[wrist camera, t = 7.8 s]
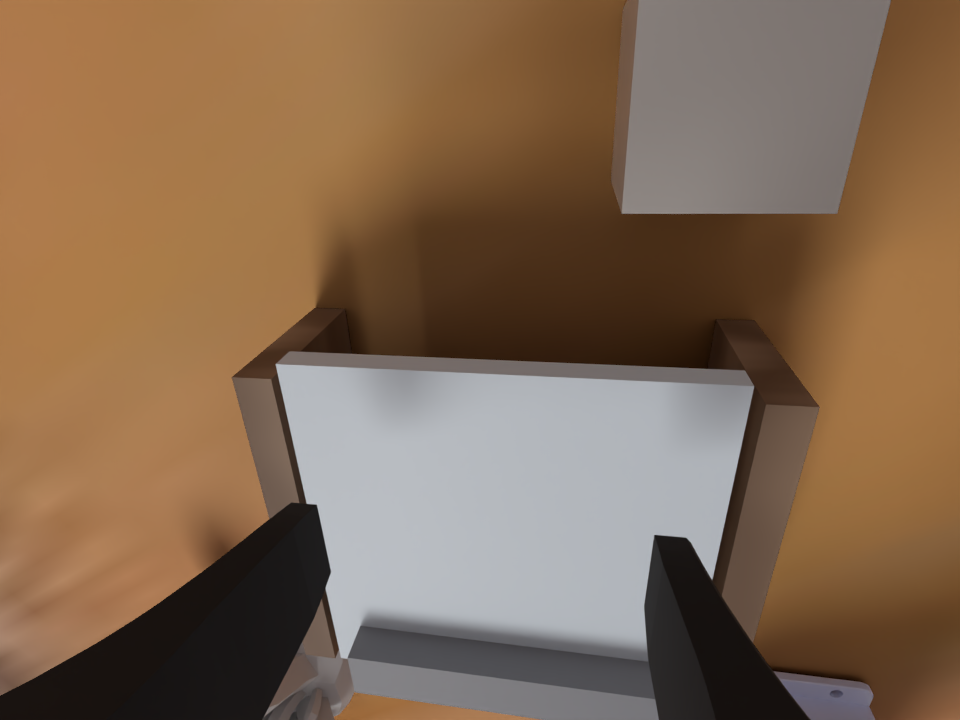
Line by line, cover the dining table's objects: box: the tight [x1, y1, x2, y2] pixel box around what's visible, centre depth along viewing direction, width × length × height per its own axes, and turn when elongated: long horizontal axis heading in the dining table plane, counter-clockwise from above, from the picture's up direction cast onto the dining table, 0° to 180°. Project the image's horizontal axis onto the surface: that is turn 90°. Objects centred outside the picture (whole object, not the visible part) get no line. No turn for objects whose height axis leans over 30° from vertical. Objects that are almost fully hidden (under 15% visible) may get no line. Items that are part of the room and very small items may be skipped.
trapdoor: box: [276, 351, 754, 720], centre depth 16 cm, size 12×12×2 cm
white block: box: [611, 0, 891, 214], centre depth 13 cm, size 4×4×5 cm
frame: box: [232, 308, 820, 658], centre depth 19 cm, size 15×12×6 cm
